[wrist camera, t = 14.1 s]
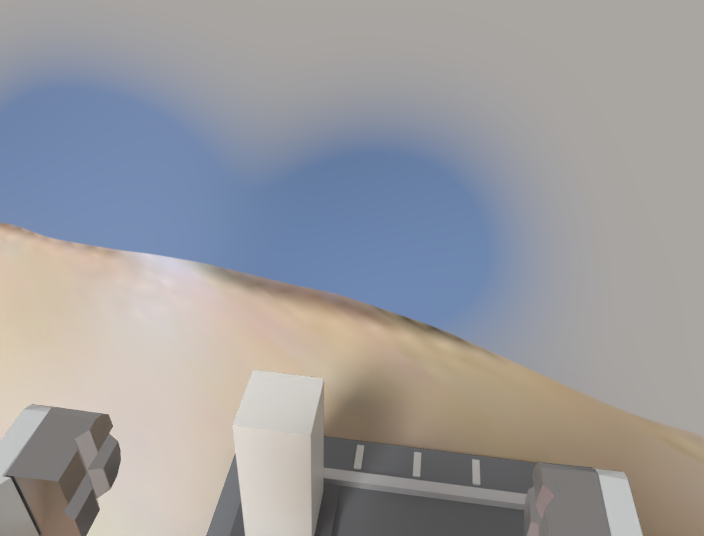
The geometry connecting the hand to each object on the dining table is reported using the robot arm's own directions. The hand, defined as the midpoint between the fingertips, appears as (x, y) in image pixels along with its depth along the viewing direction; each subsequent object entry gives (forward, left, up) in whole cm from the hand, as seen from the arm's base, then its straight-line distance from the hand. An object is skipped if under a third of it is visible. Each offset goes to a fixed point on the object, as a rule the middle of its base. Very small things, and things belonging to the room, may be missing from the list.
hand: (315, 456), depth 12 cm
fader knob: (+5, -15, -26) cm, 30 cm away
